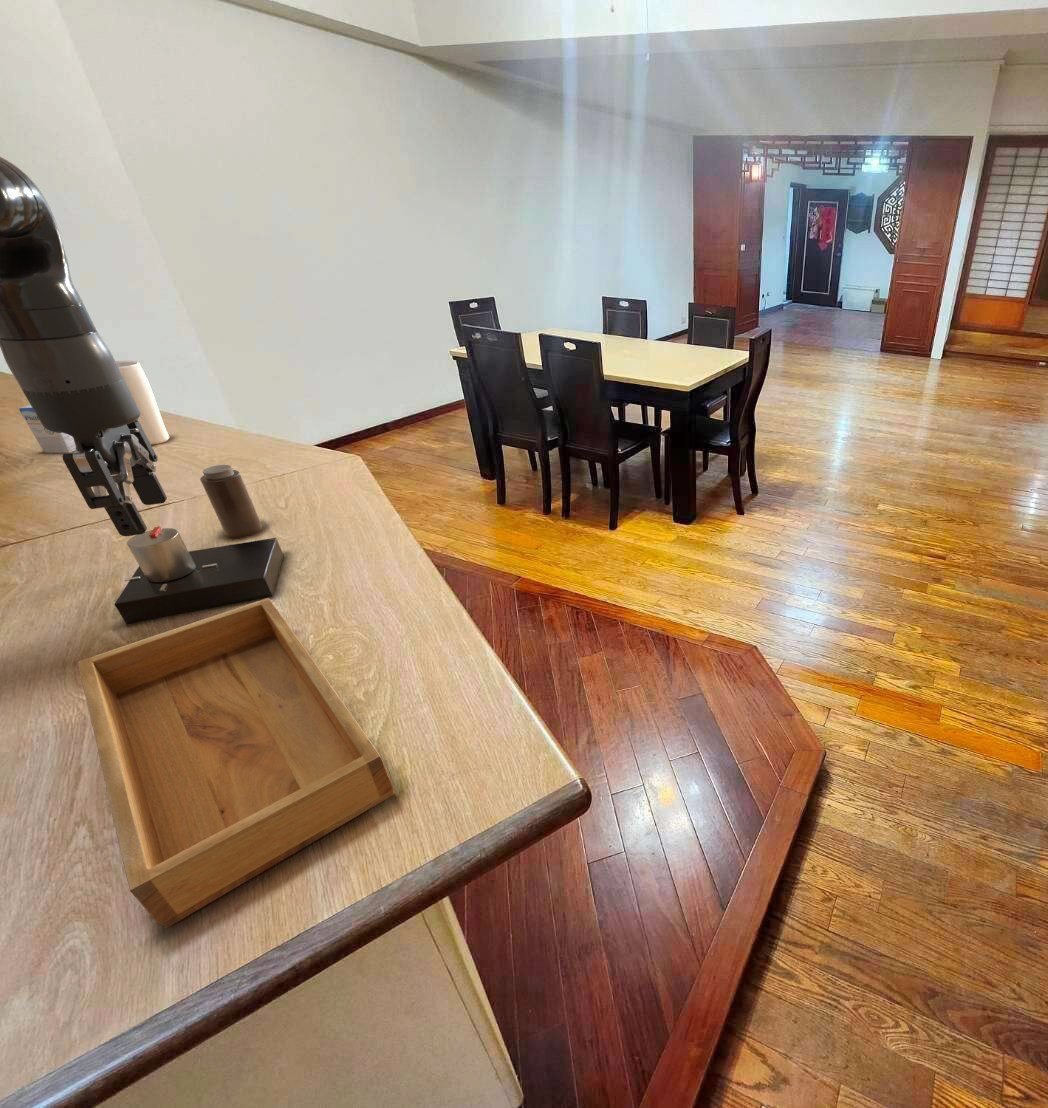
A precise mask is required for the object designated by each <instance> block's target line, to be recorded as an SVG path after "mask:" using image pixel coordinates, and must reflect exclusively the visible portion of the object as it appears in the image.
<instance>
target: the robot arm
mask: <svg viewBox="0 0 1048 1108" xmlns="http://www.w3.org/2000/svg"><path fill="white" fill-rule="evenodd" d="M66 254H67V253H66V250H65V247H64V244H63V240H62V237H61V233H60V230H59V227H58V224H57V220H56V218H55V216H54V214H53V211H52V209H51V207H50V204H49V203H48V201H47V200H46V198H45V196H44V194H43V193H42V191H41V190H40V189H39V187H38V186H37V185H36V183H35V182H34V181H33V180H32V179H31V178H30V176H29V175H27V173H26V172H25V171H23V170H22V169H20V168H19V167H18V166H16V164H14V163H13V162H11V161H9V160H7V159H6V158H4V157H2V156H0V350H1V353H2V355H3V358H4V361H5V363H6V365H7V367H8V369H9V370H10V372H11V373H12V374H11V375H13V377H14V379H15V380H16V382H17V384H18V385H19V388H20V389H21V391H22V392H23V394H24V396H25V399H26V400H27V402H28V403H29V405H31V406H32V408H33V410H34V412H35V413H36V415H37V417H38V418H39V420H40V422H41V424H42V425H43V427H44V428H46V429H47V430H49V431H52V432H56V433H65V434H68V435H70V436H72V437H73V438H74V442H75V445H76V450H75V452H70V453H62V461H63V463H64V464H65V466H66V468H67V471H68V472H69V473H70V476H71V478H72V479H73V482H74V483H75V484H76V486H77V488H78V491H79V493H80V494H81V496H82V498H83V499H84V502H85V503H86V505H87V506H88V508H89V509H90V510H96V509H103V508H104V510H105V512H106V514H107V515H108V517H109V518H110V520H111V522H112V524H113V525H114V527H115V529H116V531H117V533H118V534H119V535H120V536H122V537H134V536H136V535H139V534H143V533H145V532H147V531H148V530H147V529H148V526H147V524H146V523H145V521H144V519H143V517H142V516H141V514H140V512H139V510H138V508H137V506H136V504H135V503H134V501H133V498H132V493H131V489H130V488H131V487H130V485H132V486H133V489H134V490H135V492H136V495H137V496H138V498H139V500H140V501H141V503H142V504H143V505H145V506H153V505H161V504H164V503H165V502H166V501H167V500H168V497H167V495H166V493H165V490H164V489H163V487H162V485H161V483H160V481H159V479H158V477H157V475H156V471H157V467H156V465H155V463H158V460H159V458H158V454H156V452H155V450H154V448H153V446H152V445H151V444H150V442H149V440H148V438H147V436H146V434H145V433H144V431H143V429H142V427H141V425H140V423H139V421H138V418H139V417H140V411H139V409H138V407H137V405H136V403H135V400H134V398H133V396H132V394H131V392H130V390H129V388H128V386H127V384H126V382H125V380H124V378H123V376H122V374H121V372H120V370H119V368H118V366H117V364H116V362H115V361H116V359H115V358H114V355H113V354H112V352H111V350H110V349H109V347H108V345H107V344H106V343H105V341H104V340H103V339H102V337H101V335H100V333H99V332H98V330H97V328H96V326H95V324H94V322H93V320H92V317H91V316H90V314H89V312H88V310H87V308H86V305H85V303H84V302H83V300H82V298H81V296H80V294H79V292H78V290H77V289H76V287H75V285H74V283H73V280H72V277H71V273H70V272H71V271H70V267H69V262H68V258H67V255H66Z"/></svg>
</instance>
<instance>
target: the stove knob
mask: <svg viewBox="0 0 1048 1108" xmlns="http://www.w3.org/2000/svg"><path fill="white" fill-rule="evenodd" d="M126 545H127V546H128V549H129V550H130V552H131V554H132V555H133V558H134V559H135V561H136V563H137V564H138V567H139V566H140V568H141V569H142V571H143V573H144V575H145V576H146V578H147V580H148V581H151V582H167V581H171V580H175V579H178V578H181V577H184V576H186V575H188V574H190V573H191V572H192V571H193V570H194V569H195V567H196V565H195V563H194V561H193V559H192V557H191V556H190V554H189V550H188V547H187V546H186V544H185V542H184V539H183V538H182V536H181V534H180V532H179V530H177V528H171V527H161V526H159V525H158V526H154V527H153V528H152V529H150V530H146V531H145V533H143V534H139V535H133V536H131V538H129V539H128V540H127V543H126Z"/></svg>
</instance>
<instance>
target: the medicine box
mask: <svg viewBox="0 0 1048 1108" xmlns="http://www.w3.org/2000/svg"><path fill="white" fill-rule="evenodd" d="M18 410H19V413H20V414H21V416H22V418H23V419H24V420H25V423H26V424H27V427H29V430H30V431H31V433H32V434H33V436H34V437H35V439H36V442H37V443H38V444H39V446H40V448H41V450H42V451H43V452H44V453H46V454H67V453H74V452H76V445H75V442H74V438H73V437H72V436H70V435H68V434H65V433H56V432H52V431H49V430H47V429H46V428H44V427H43V425H42V424H41V422H40V420H39V418H38V417H37V415H36V413H35V412H34V410H33V408H32V406H31V405H30V404H27V405H24V406H21V407H19V408H18Z"/></svg>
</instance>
